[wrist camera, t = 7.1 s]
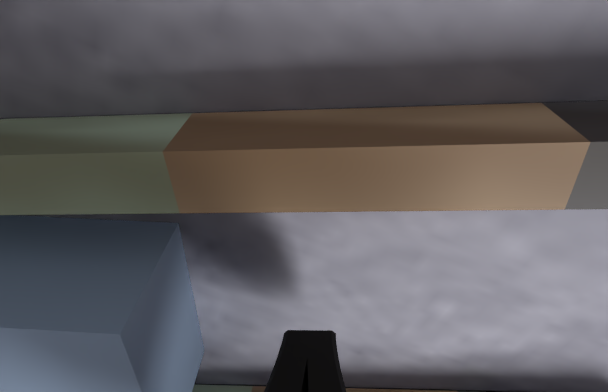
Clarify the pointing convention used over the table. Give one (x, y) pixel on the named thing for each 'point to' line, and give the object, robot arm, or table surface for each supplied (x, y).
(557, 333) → the table surface
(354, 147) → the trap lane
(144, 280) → the slate block
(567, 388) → the table surface
